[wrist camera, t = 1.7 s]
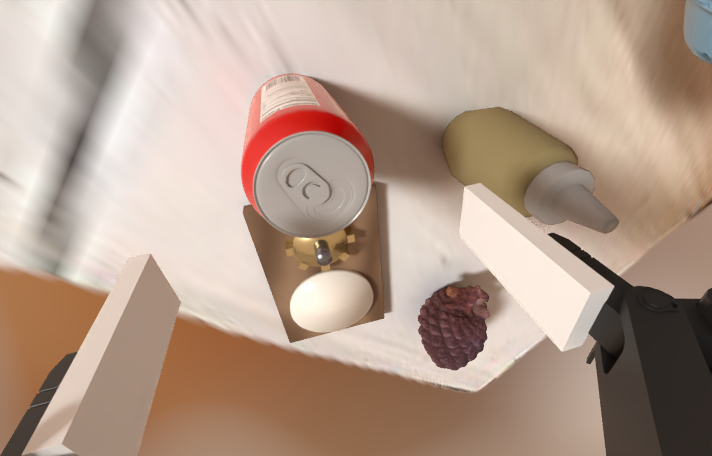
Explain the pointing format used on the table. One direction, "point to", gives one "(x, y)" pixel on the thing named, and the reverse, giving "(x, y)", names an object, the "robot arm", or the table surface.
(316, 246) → the brass gear
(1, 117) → the table surface
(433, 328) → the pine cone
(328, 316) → the ceramic plate
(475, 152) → the squeeze bottle
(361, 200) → the soda can
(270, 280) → the gear board
